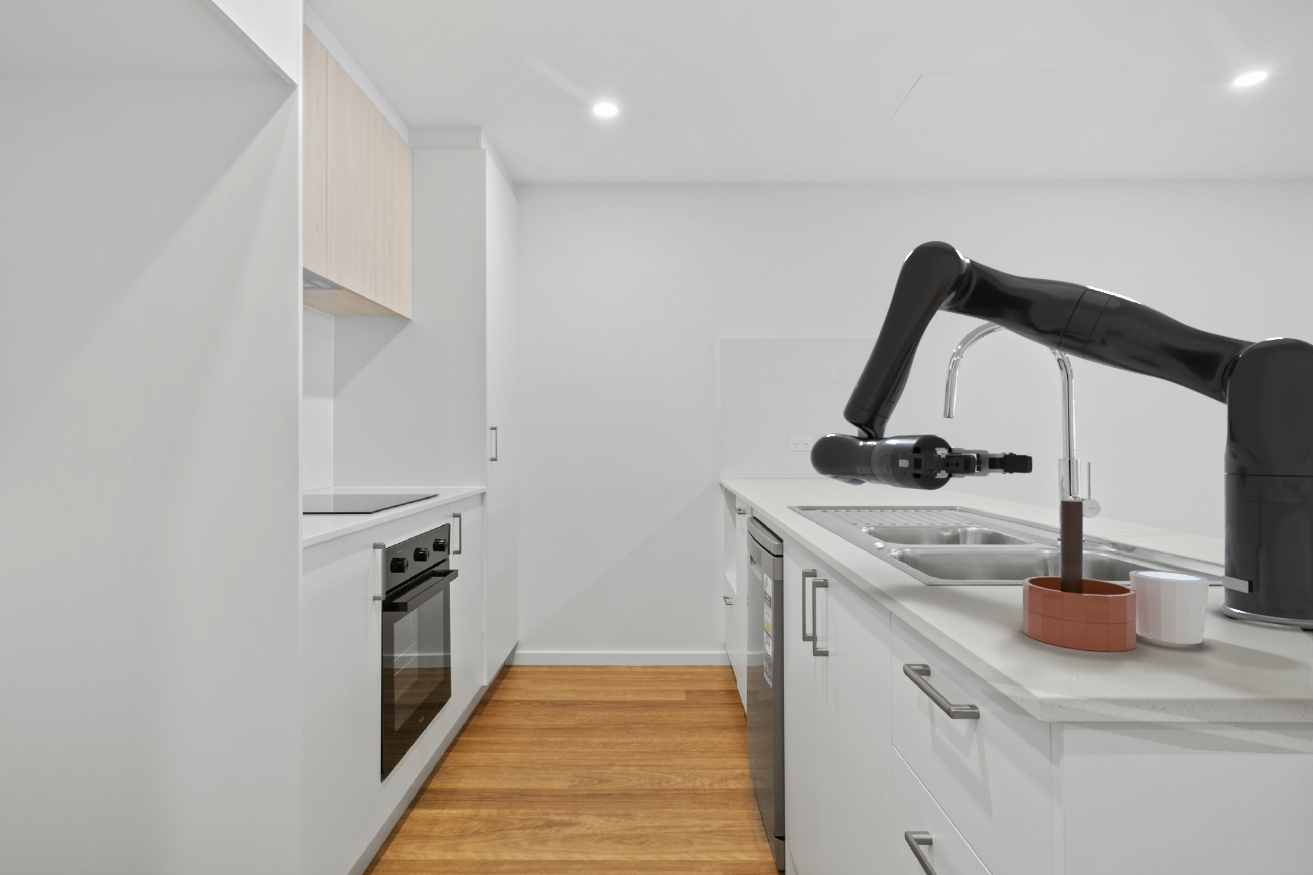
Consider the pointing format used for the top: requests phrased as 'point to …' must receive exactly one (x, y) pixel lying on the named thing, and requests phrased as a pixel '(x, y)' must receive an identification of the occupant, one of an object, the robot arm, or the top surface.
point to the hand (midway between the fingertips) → (1002, 464)
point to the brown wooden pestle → (1072, 546)
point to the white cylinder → (1170, 605)
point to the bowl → (1080, 614)
